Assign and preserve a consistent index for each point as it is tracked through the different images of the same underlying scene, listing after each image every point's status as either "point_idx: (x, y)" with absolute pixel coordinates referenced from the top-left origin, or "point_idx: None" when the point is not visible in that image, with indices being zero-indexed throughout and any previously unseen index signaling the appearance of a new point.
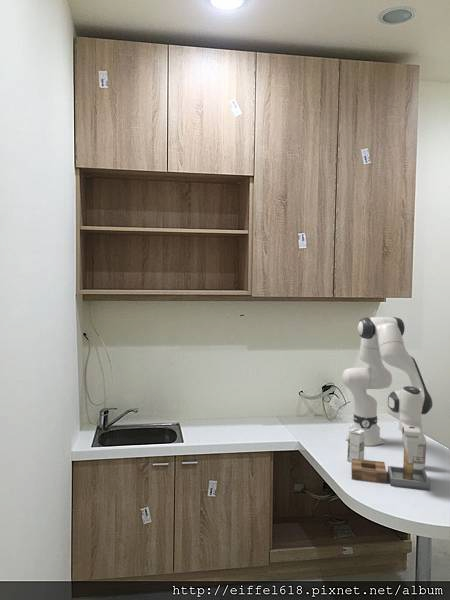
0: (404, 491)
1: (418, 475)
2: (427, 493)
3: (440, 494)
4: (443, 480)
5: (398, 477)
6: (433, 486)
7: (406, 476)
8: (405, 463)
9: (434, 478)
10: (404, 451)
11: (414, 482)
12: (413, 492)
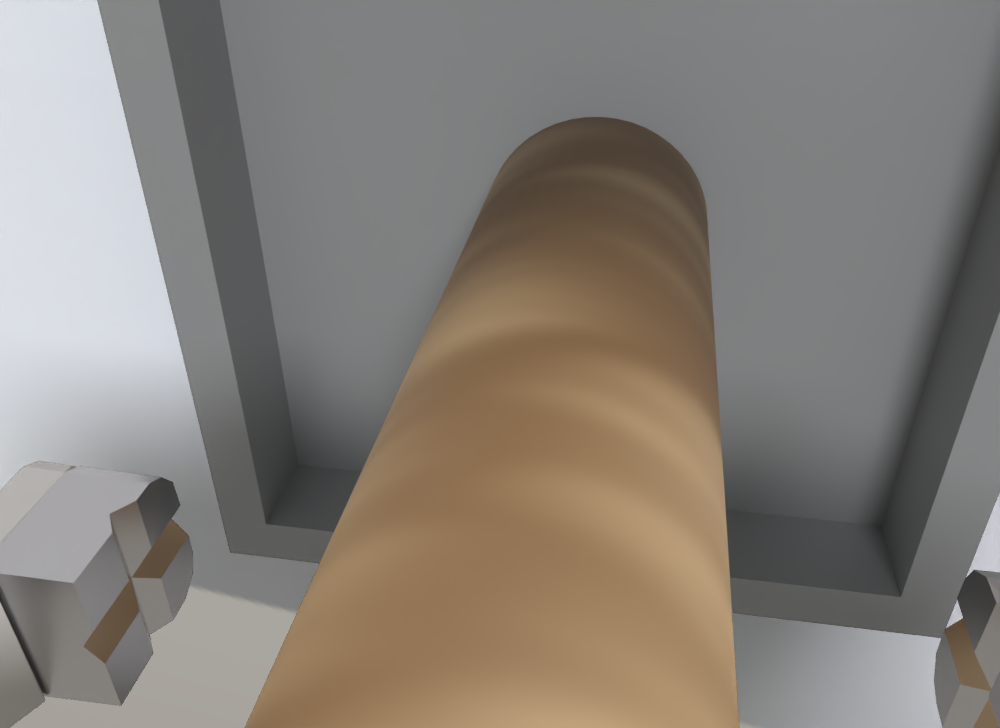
0: (6, 45)
1: (840, 460)
2: (143, 409)
3: (202, 554)
4: (770, 721)
5: (618, 9)
6: None
7: (480, 211)
8: (425, 355)
9: (839, 645)
10: (350, 693)
11: (183, 311)
12: (58, 207)
